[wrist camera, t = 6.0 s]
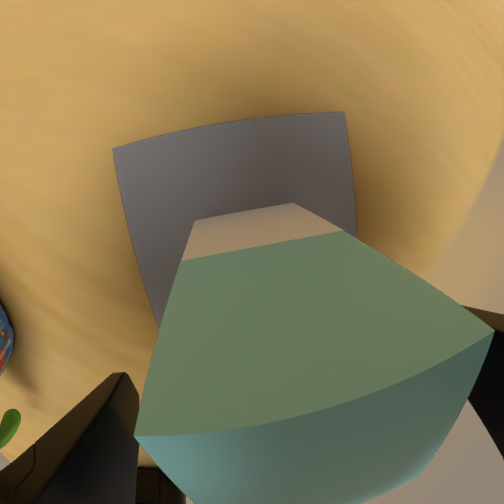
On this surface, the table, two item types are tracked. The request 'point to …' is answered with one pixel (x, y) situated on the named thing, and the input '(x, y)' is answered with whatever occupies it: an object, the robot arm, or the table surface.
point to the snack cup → (3, 345)
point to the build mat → (229, 183)
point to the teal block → (304, 374)
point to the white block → (253, 229)
